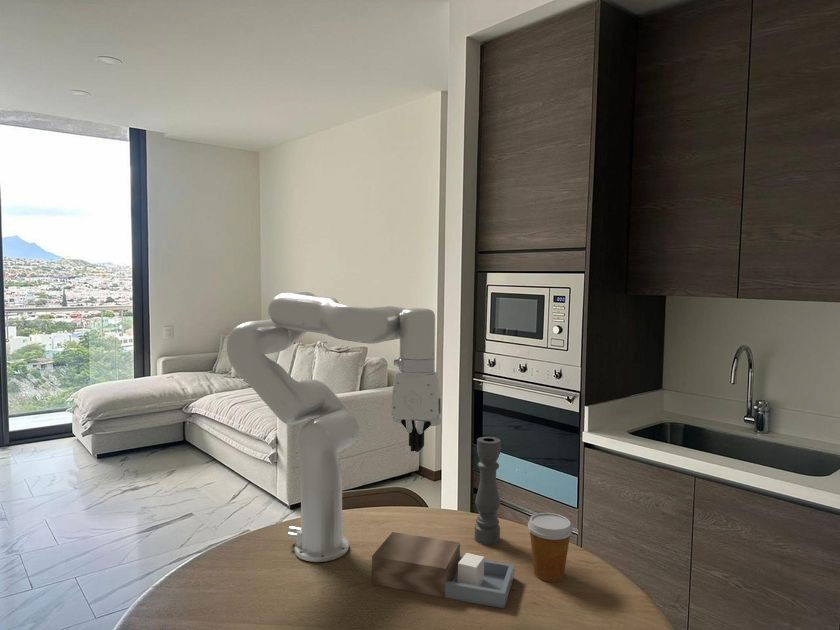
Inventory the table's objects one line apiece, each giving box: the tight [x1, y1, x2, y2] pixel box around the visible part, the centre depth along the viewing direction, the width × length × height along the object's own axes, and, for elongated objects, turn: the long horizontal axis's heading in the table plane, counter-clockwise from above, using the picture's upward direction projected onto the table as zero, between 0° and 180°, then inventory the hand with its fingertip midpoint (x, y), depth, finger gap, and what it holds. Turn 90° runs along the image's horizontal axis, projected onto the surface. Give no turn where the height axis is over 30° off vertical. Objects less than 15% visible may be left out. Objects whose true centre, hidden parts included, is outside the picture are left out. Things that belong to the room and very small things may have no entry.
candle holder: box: [474, 436, 501, 546], centre depth 139 cm, size 6×6×25 cm
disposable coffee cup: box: [527, 512, 573, 583], centre depth 123 cm, size 10×10×12 cm
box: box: [444, 555, 515, 610], centre depth 118 cm, size 12×12×3 cm
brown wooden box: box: [371, 531, 461, 598], centre depth 122 cm, size 16×12×6 cm
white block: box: [458, 552, 485, 586], centre depth 119 cm, size 5×5×4 cm
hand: (416, 449), depth 123 cm, fingers closed
